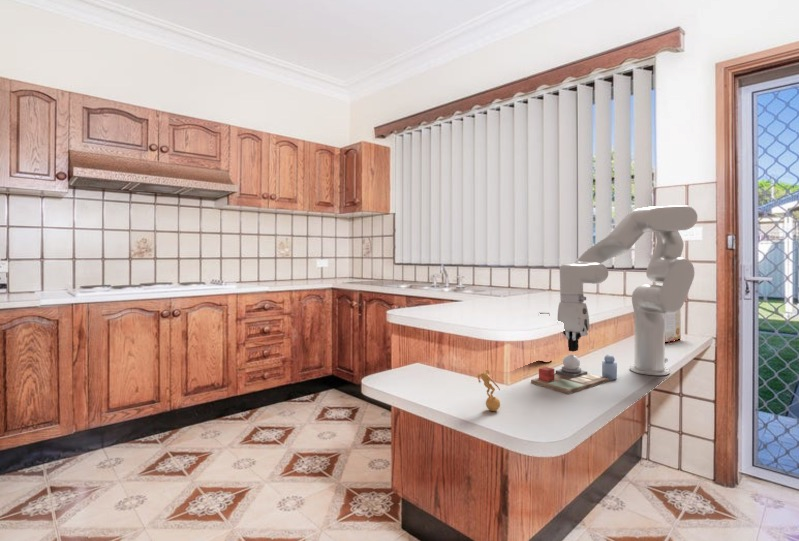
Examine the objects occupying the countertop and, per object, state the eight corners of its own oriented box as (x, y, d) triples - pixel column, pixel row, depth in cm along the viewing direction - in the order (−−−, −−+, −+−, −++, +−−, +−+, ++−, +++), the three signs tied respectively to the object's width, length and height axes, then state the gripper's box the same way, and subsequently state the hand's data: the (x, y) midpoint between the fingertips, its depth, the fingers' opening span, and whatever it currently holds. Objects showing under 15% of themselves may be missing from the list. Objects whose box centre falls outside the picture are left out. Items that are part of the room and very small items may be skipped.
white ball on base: (568, 366, 157) (568, 351, 157) (585, 370, 151) (585, 355, 151) (557, 369, 153) (557, 354, 153) (573, 373, 148) (573, 357, 148)
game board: (570, 371, 158) (570, 359, 158) (608, 381, 146) (608, 367, 146) (530, 382, 146) (530, 369, 146) (568, 394, 134) (568, 379, 134)
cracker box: (668, 338, 213) (668, 296, 213) (681, 340, 208) (681, 297, 207) (651, 341, 207) (652, 298, 206) (664, 343, 201) (665, 299, 200)
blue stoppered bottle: (606, 375, 153) (606, 352, 153) (619, 378, 149) (619, 354, 149) (599, 377, 151) (599, 354, 150) (612, 380, 147) (612, 356, 147)
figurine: (508, 413, 119) (508, 370, 118) (492, 418, 116) (492, 374, 115) (488, 404, 126) (487, 364, 125) (472, 409, 123) (471, 367, 122)
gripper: (597, 299, 147) (599, 352, 148) (560, 296, 160) (561, 345, 160) (584, 301, 143) (586, 356, 144) (547, 298, 155) (548, 349, 156)
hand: (573, 350), depth 152 cm, fingers closed
